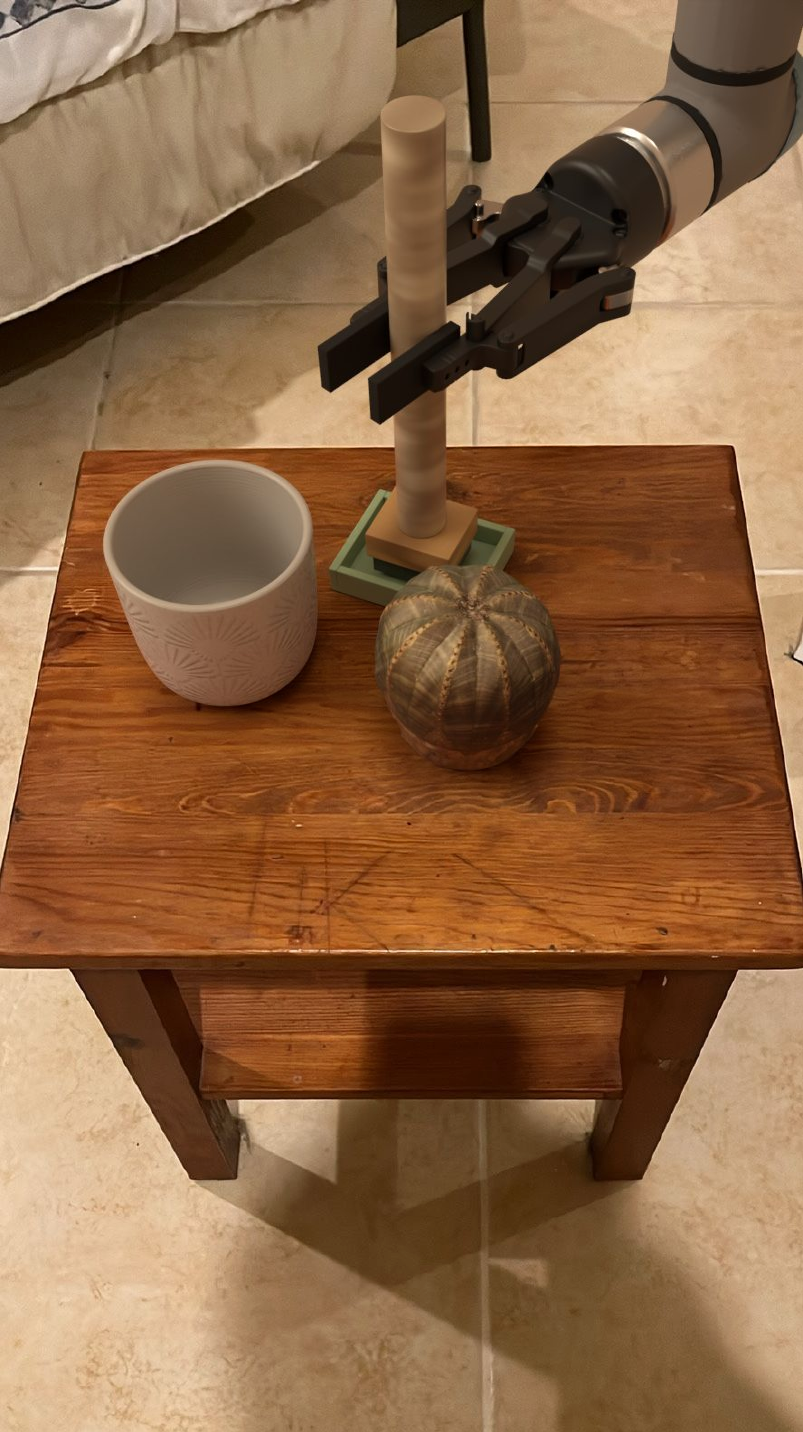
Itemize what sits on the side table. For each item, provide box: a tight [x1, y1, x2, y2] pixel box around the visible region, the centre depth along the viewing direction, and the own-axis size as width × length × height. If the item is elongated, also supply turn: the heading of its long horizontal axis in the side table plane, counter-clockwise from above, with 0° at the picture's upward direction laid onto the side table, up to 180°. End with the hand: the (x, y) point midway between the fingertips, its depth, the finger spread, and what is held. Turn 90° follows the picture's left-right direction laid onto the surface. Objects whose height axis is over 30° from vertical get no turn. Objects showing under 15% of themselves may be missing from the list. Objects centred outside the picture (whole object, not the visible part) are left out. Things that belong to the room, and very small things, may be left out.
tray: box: [328, 488, 516, 607], centre depth 88 cm, size 10×8×2 cm
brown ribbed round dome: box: [373, 565, 562, 771], centre depth 76 cm, size 11×11×12 cm
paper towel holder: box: [365, 94, 479, 580], centre depth 75 cm, size 6×5×30 cm
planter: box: [102, 459, 319, 707], centre depth 80 cm, size 12×12×11 cm
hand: (349, 385), depth 71 cm, fingers closed on paper towel holder, 3 cm apart
